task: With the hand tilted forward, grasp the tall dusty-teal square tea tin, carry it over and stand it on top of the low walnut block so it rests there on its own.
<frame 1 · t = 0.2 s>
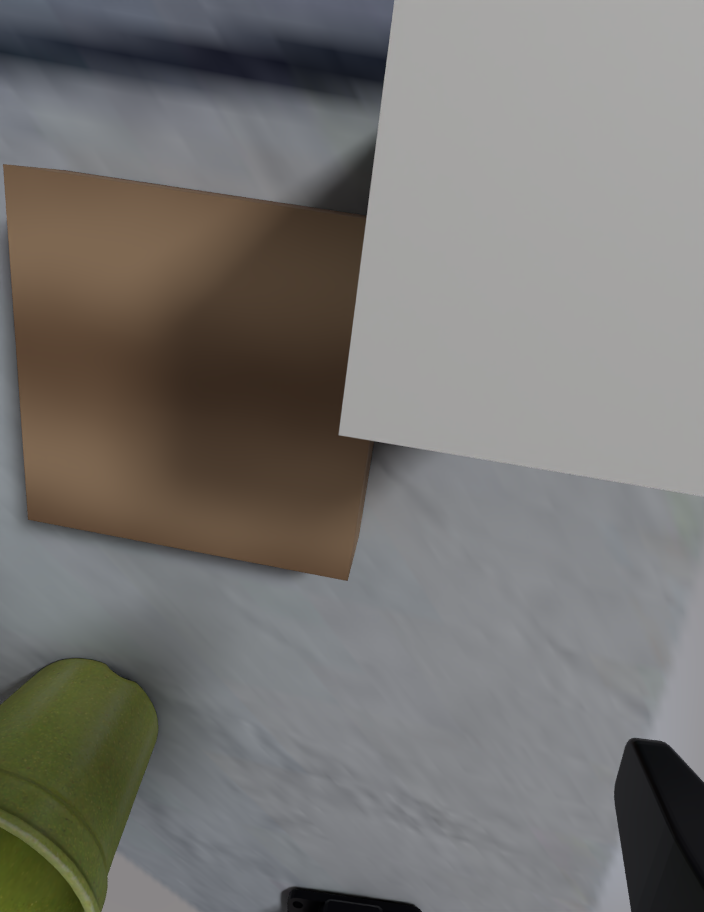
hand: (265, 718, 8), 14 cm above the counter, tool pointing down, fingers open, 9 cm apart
walnut block: (223, 367, 22), on the counter
tea tin: (516, 216, 19), on the counter
plant pot: (97, 706, 28), on the counter
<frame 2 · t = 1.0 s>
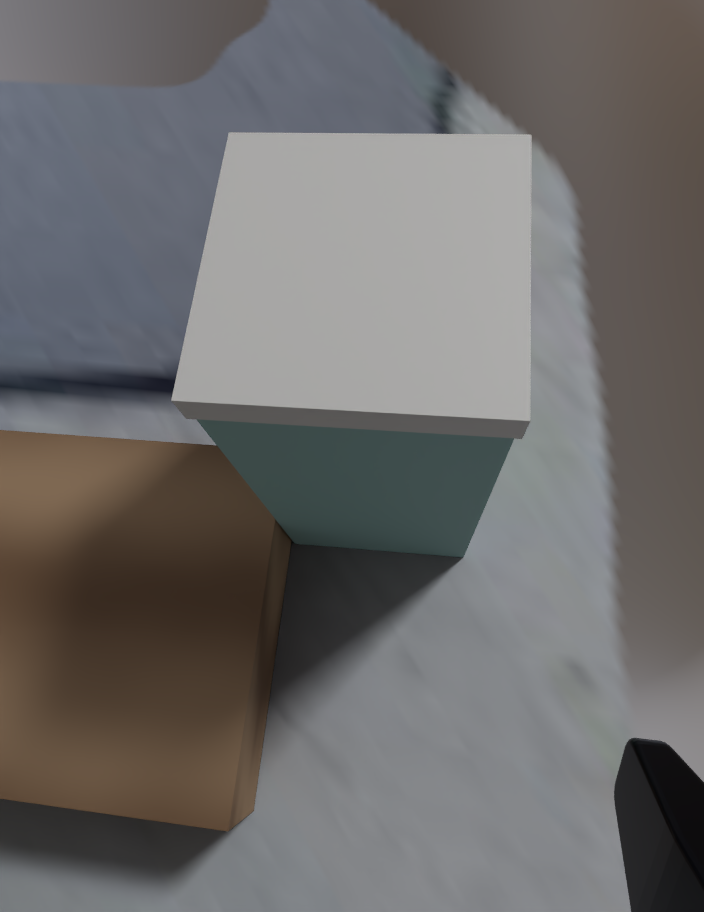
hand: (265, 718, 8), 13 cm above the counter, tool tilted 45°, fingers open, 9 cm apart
walnut block: (126, 614, 22), on the counter
tea tin: (384, 470, 23), on the counter
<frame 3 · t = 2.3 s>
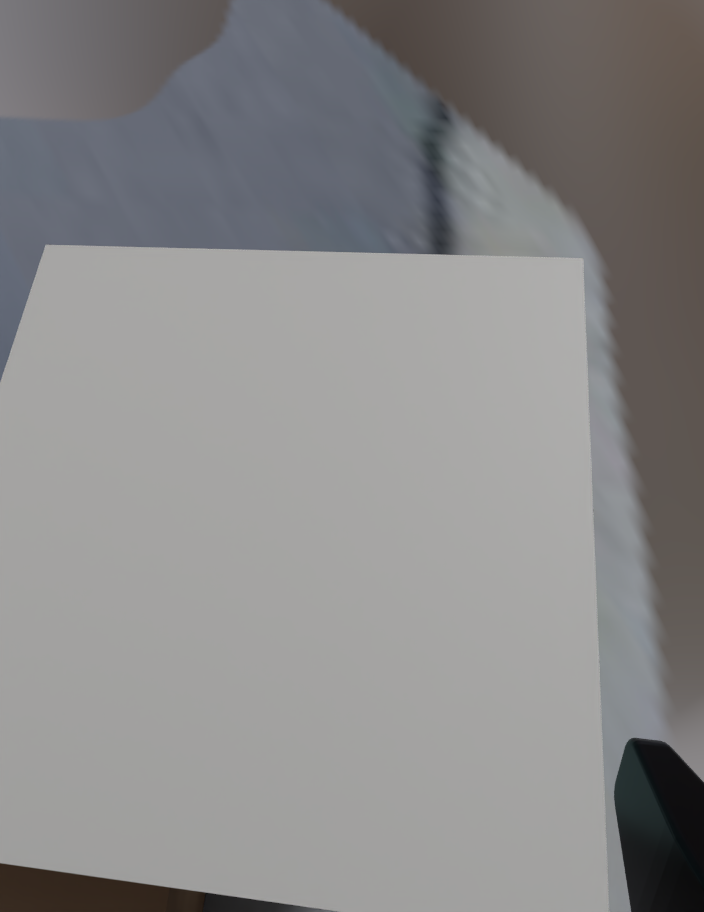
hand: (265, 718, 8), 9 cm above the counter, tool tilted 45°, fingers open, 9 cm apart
walnut block: (3, 843, 16), on the counter
tea tin: (356, 634, 17), on the counter
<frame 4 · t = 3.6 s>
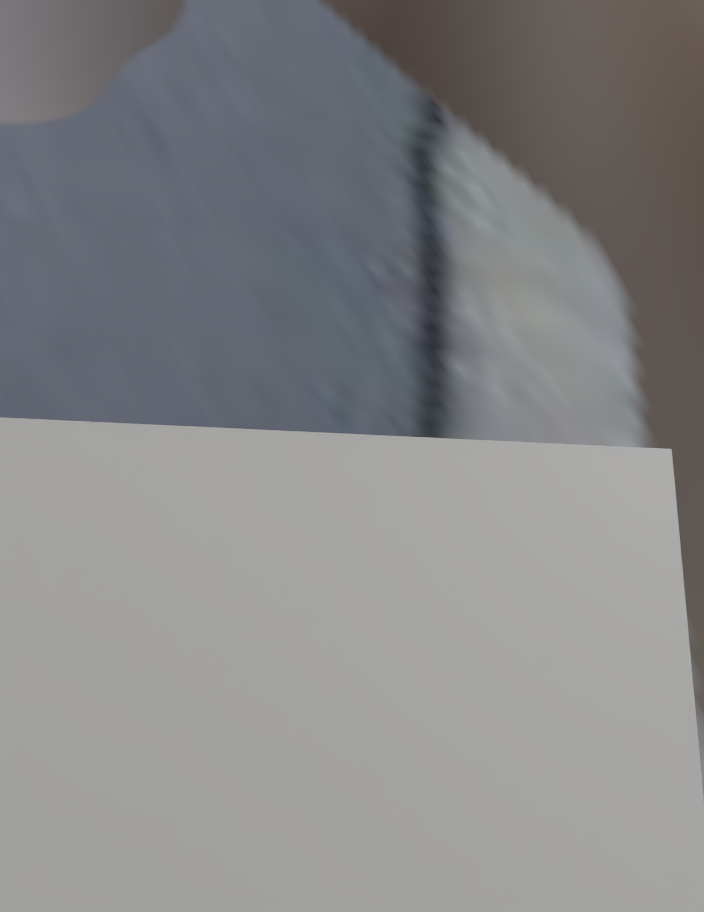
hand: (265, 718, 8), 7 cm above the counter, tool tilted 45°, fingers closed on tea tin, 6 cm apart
tea tin: (325, 777, 14), on the counter, touching gripper
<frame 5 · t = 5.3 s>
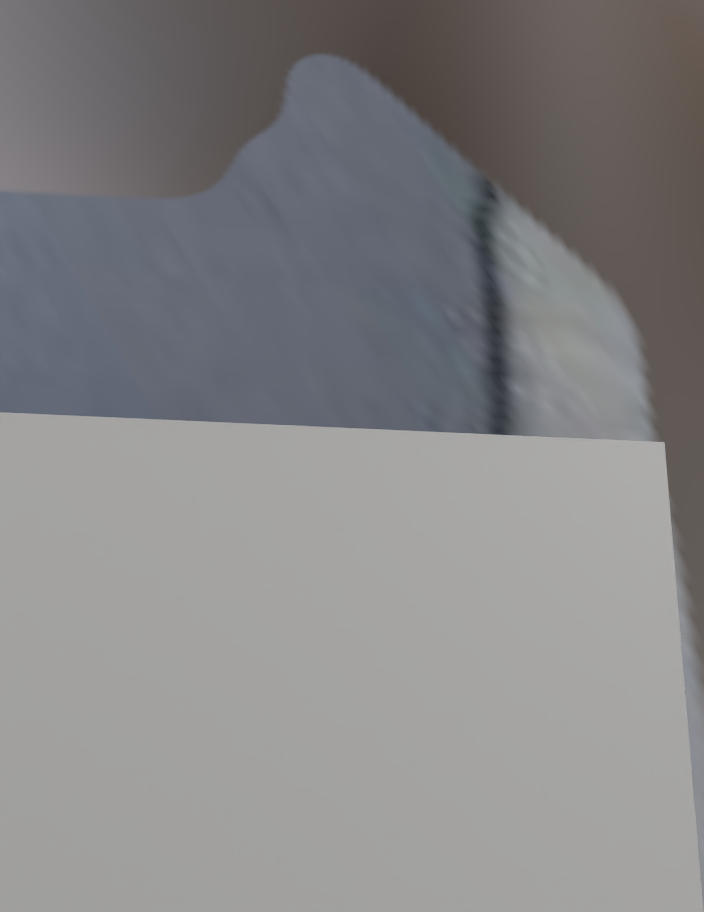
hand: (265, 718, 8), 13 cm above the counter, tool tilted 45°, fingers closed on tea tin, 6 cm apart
tea tin: (329, 774, 14), point 6 cm above the counter, touching gripper
when the fingers open (10 cm above the counter, at t = 7.1 s): tea tin stays where it is, resting on walnut block.
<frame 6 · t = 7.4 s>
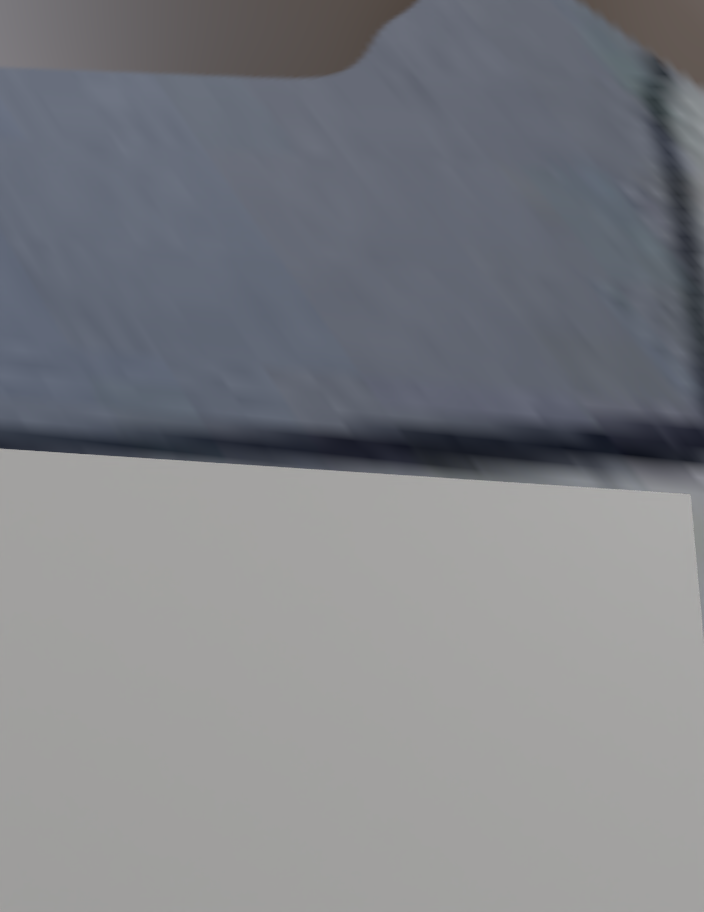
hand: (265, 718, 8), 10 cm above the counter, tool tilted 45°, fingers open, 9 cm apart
tea tin: (326, 777, 14), point 3 cm above the counter, touching walnut block
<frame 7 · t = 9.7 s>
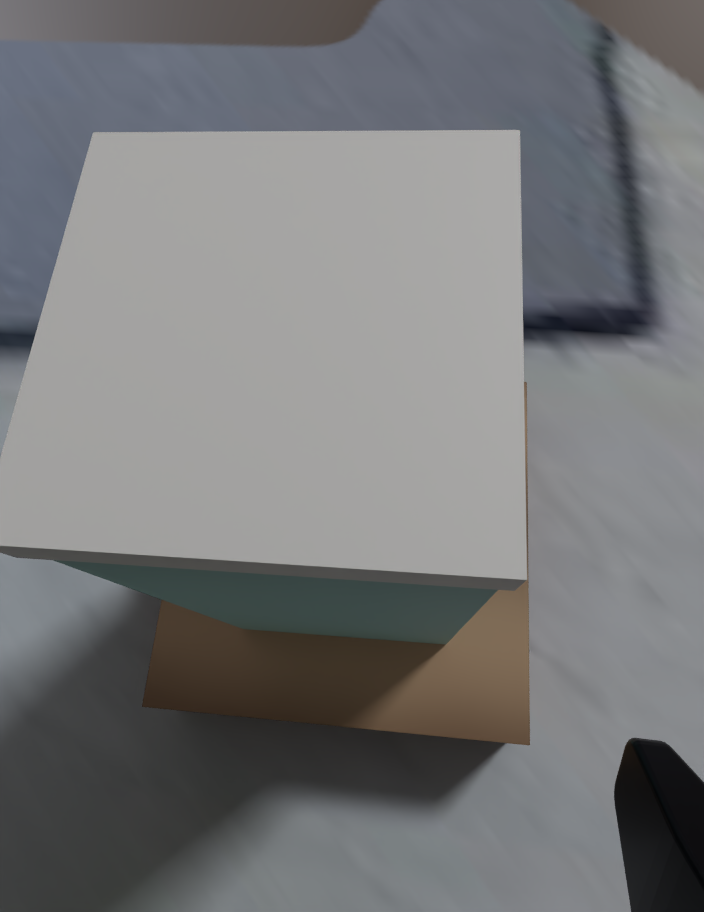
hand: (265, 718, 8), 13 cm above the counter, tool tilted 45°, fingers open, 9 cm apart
walnut block: (354, 553, 22), on the counter
tea tin: (351, 536, 19), point 3 cm above the counter, touching walnut block
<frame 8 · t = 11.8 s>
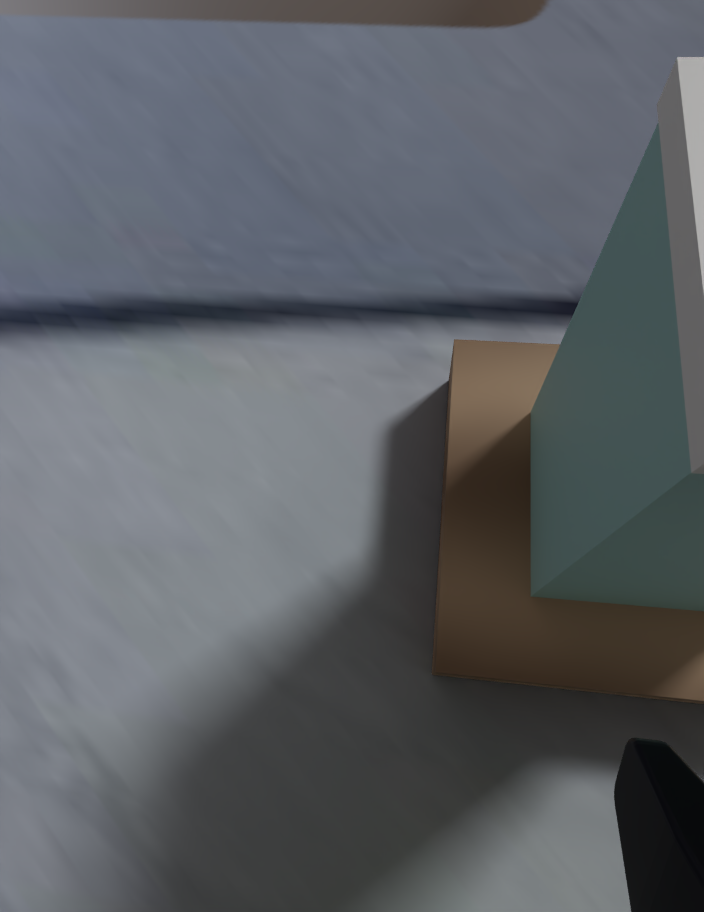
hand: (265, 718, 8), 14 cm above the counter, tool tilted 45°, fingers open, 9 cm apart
walnut block: (598, 527, 22), on the counter
tea tin: (630, 506, 19), point 3 cm above the counter, touching walnut block
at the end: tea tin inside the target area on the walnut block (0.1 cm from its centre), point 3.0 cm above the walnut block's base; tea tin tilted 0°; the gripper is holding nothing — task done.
